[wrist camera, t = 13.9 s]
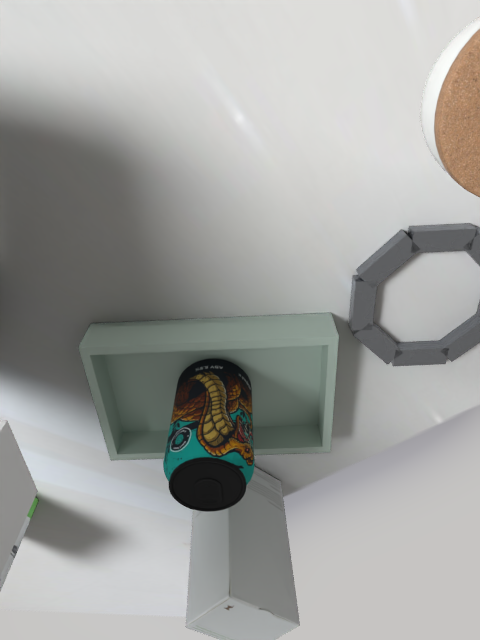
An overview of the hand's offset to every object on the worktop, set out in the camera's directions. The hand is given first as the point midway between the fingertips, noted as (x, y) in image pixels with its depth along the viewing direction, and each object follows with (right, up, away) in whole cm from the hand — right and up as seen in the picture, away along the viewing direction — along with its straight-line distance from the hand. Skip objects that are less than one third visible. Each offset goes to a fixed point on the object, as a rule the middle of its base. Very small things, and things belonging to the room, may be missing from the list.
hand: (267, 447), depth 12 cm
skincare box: (-1, -15, +41) cm, 43 cm away
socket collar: (+16, +5, +28) cm, 33 cm away
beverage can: (-3, -3, +32) cm, 33 cm away
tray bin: (-3, -2, +33) cm, 33 cm away
